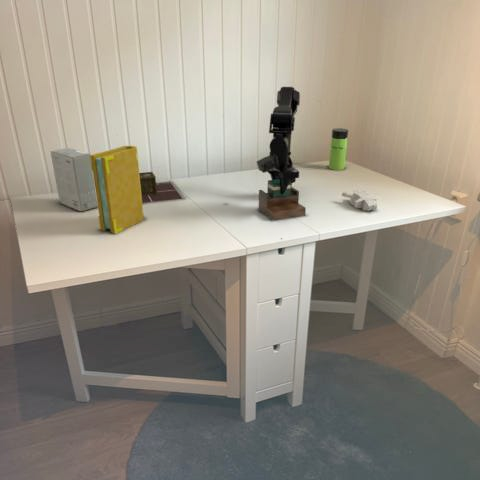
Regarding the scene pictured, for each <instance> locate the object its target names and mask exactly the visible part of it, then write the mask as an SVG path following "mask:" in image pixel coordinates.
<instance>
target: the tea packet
mask: <svg viewBox="0 0 480 480" xmlns="http://www.w3.org/2000/svg"><path fill="white" fill-rule="evenodd" d="M290 192H291V182H290V183H289V185H288V187H287V189H286V191H285V193H284V194H281V192H280V180H279V179H275V180H272V179H271V180H270V179H269V180H267V191H266V193H267V194H269V195H270V196H272V197H273V198H274V197H282V196H289V195H290Z"/></svg>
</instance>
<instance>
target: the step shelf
mask: <svg viewBox="0 0 480 480" xmlns="http://www.w3.org/2000/svg"><path fill="white" fill-rule="evenodd" d="M299 199H300V190H298V189H296V188H294V187H293V186H292V187H291V192H290V195H289V196H282V197H274V198H273V197H272V196H270V195H269V194H267V192H266V191H264V190H262V189H258V211H260V212H261V213H262V214H264V215H265V216H266V217H268V218H270V220H272V221H280V220H285V219H291V218H299V217H305V216H306V210H307V209H306V207H305V206H304V205H302V204H300V202H299Z"/></svg>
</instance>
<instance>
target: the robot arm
mask: <svg viewBox="0 0 480 480" xmlns="http://www.w3.org/2000/svg"><path fill="white" fill-rule="evenodd" d="M276 104H277V106H276V107H274V108H273V110H272V113H271V114H270V119H269V128H268V133H269V134H272V138H271V141H270V142H269V155H267V156H264V157H263V158H261V159H259V160H257V161H256V165H257V169H258V171H260V172H262V173H263V174H264V173H265V174H266V173H268V174H269V175H270V179H271V180H275V179H279V180H280V192H281V194H284V193H285V191H286V189H287V187H288V185H289V183H290V182H291V187H293V184H294V183H296V179H299V178H300V171H299V170H298V169H297V168H295V167H294V163H293V160H292V158H291V155H292V151H291V145H292V134H293V132H294V131H295V122H296V117H295V115H296V114H297V112H298V108H299V106H300V104H301V93H300V91H298V90H296V88H295V87H293V86H282V87H280V89H279V90H278V91H277V94H276Z"/></svg>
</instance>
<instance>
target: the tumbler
mask: <svg viewBox="0 0 480 480" xmlns="http://www.w3.org/2000/svg"><path fill="white" fill-rule="evenodd" d="M348 137H349V129H347V128H342V127H341V128H340V127H336V128H332V129H331V139H330V147H329V148H330V149H329V150H330V151H329V160H328V161H329V162H328V169H330V170H333V171H342V170H344V169H345V167H346V166H345V165H346V156H347V147H348V146H347V145H348Z"/></svg>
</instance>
